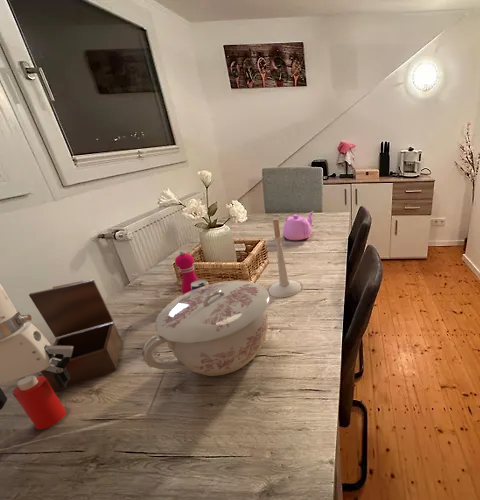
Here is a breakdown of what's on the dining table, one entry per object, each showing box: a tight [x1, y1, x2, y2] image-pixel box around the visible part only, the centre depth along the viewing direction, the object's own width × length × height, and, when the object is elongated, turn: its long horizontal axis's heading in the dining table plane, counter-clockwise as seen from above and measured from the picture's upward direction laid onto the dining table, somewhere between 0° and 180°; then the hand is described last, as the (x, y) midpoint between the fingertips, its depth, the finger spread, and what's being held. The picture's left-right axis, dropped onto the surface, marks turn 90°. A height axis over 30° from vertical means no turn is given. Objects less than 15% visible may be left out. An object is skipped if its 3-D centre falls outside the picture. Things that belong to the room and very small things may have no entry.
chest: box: [40, 321, 122, 392], centre depth 76 cm, size 14×13×8 cm
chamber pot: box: [141, 279, 271, 377], centre depth 76 cm, size 28×28×21 cm
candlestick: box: [268, 217, 302, 299], centre depth 107 cm, size 13×13×30 cm
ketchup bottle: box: [12, 374, 67, 430], centre depth 60 cm, size 5×5×12 cm
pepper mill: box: [174, 249, 200, 295], centre depth 105 cm, size 7×7×20 cm
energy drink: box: [191, 278, 210, 290], centre depth 98 cm, size 5×5×12 cm
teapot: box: [282, 210, 315, 241], centre depth 167 cm, size 22×22×14 cm
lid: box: [28, 279, 114, 339], centre depth 78 cm, size 14×13×5 cm
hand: (35, 394), depth 60 cm, fingers open, 9 cm apart
